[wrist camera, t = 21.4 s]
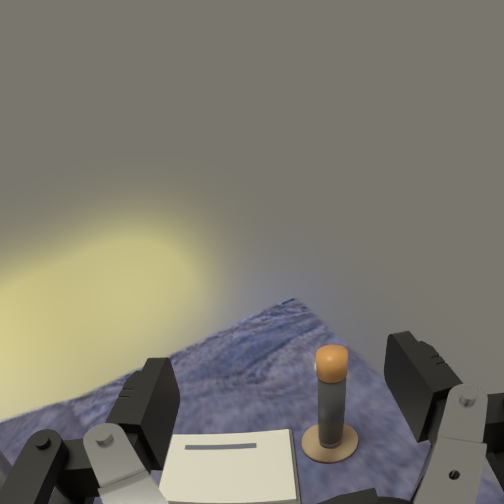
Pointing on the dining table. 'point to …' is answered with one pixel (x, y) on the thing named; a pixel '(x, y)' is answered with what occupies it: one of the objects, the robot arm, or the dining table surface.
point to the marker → (331, 393)
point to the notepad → (231, 469)
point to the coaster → (329, 455)
